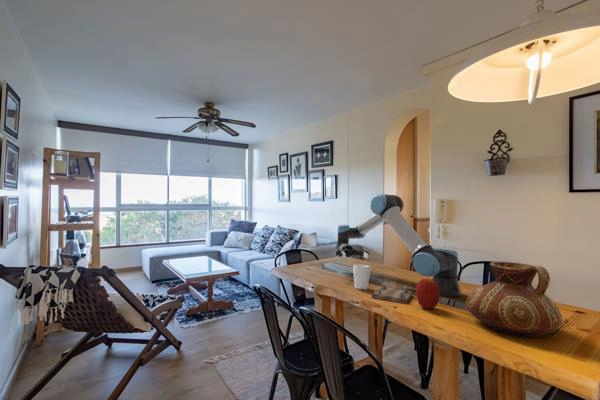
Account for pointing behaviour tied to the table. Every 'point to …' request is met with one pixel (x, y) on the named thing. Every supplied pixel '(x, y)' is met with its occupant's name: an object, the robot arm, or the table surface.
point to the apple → (427, 293)
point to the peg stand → (392, 294)
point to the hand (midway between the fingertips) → (356, 256)
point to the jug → (516, 301)
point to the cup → (361, 276)
